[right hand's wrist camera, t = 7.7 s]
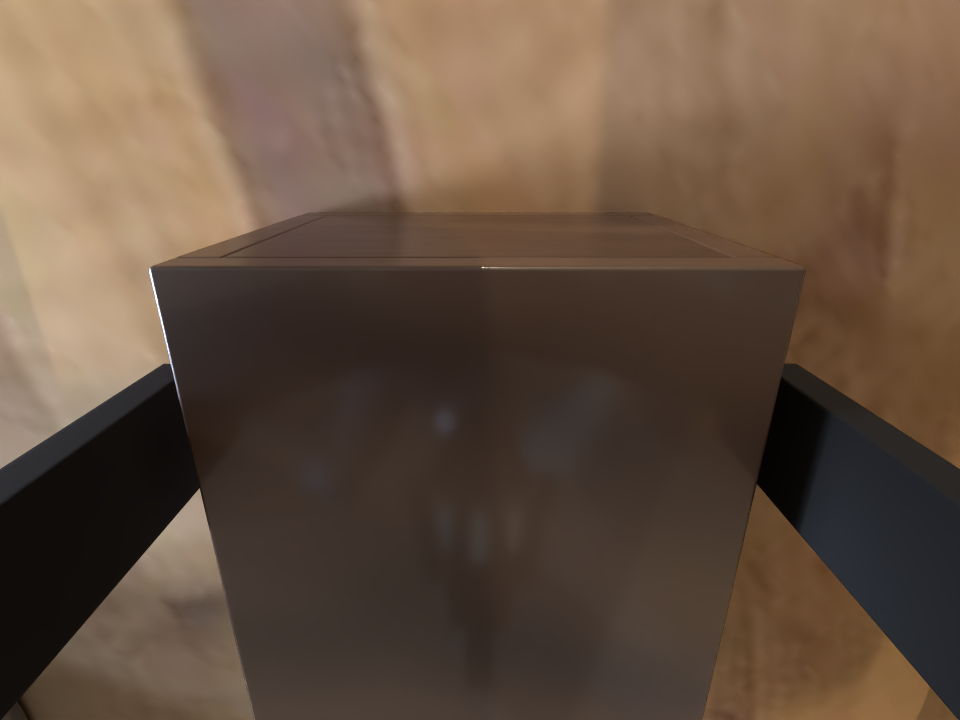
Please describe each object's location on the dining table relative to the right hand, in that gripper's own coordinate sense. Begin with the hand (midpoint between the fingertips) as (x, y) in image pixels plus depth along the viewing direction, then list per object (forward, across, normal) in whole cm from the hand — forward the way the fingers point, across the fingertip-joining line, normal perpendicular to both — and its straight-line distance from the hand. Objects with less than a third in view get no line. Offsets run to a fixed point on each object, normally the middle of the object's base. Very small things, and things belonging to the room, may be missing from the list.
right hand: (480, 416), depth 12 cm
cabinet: (+6, 0, -5) cm, 8 cm away
